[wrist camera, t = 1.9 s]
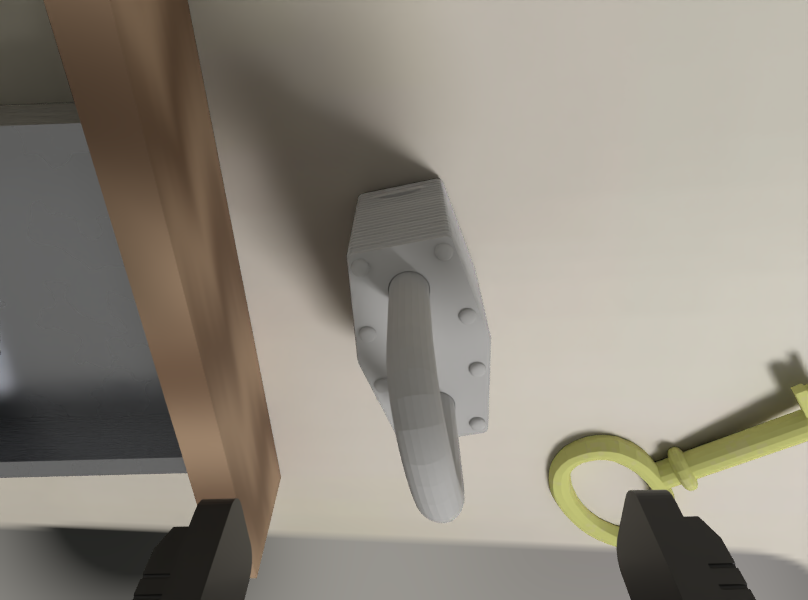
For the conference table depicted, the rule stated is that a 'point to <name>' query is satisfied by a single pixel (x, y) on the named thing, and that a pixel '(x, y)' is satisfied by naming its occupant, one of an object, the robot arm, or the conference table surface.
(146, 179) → the door strip
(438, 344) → the padlock
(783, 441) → the key
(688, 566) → the robot arm
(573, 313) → the conference table surface
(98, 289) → the grey metal tray
